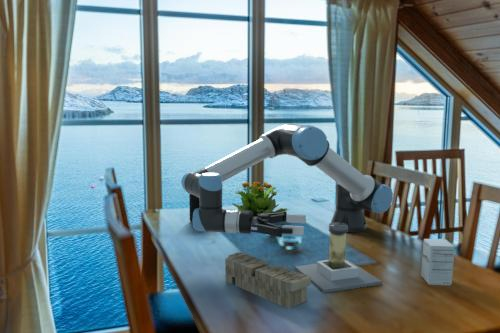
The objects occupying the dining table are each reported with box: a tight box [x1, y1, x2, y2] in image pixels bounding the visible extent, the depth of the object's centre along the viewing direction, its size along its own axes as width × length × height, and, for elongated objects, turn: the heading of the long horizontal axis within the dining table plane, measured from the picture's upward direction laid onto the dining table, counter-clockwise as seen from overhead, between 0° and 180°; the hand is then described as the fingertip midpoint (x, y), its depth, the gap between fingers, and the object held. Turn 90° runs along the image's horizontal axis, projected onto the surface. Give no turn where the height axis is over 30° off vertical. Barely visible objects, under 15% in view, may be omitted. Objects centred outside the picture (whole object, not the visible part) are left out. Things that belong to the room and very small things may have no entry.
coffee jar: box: [188, 193, 200, 225], centre depth 214 cm, size 11×11×18 cm
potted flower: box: [231, 181, 291, 217], centre depth 222 cm, size 25×24×18 cm
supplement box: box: [420, 238, 456, 286], centre depth 151 cm, size 7×7×13 cm
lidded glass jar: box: [328, 222, 349, 270], centre depth 153 cm, size 6×6×16 cm
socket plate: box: [294, 259, 383, 294], centre depth 154 cm, size 20×20×4 cm
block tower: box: [224, 251, 312, 310], centre depth 143 cm, size 8×8×29 cm
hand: (304, 224), depth 156 cm, fingers open, 13 cm apart
